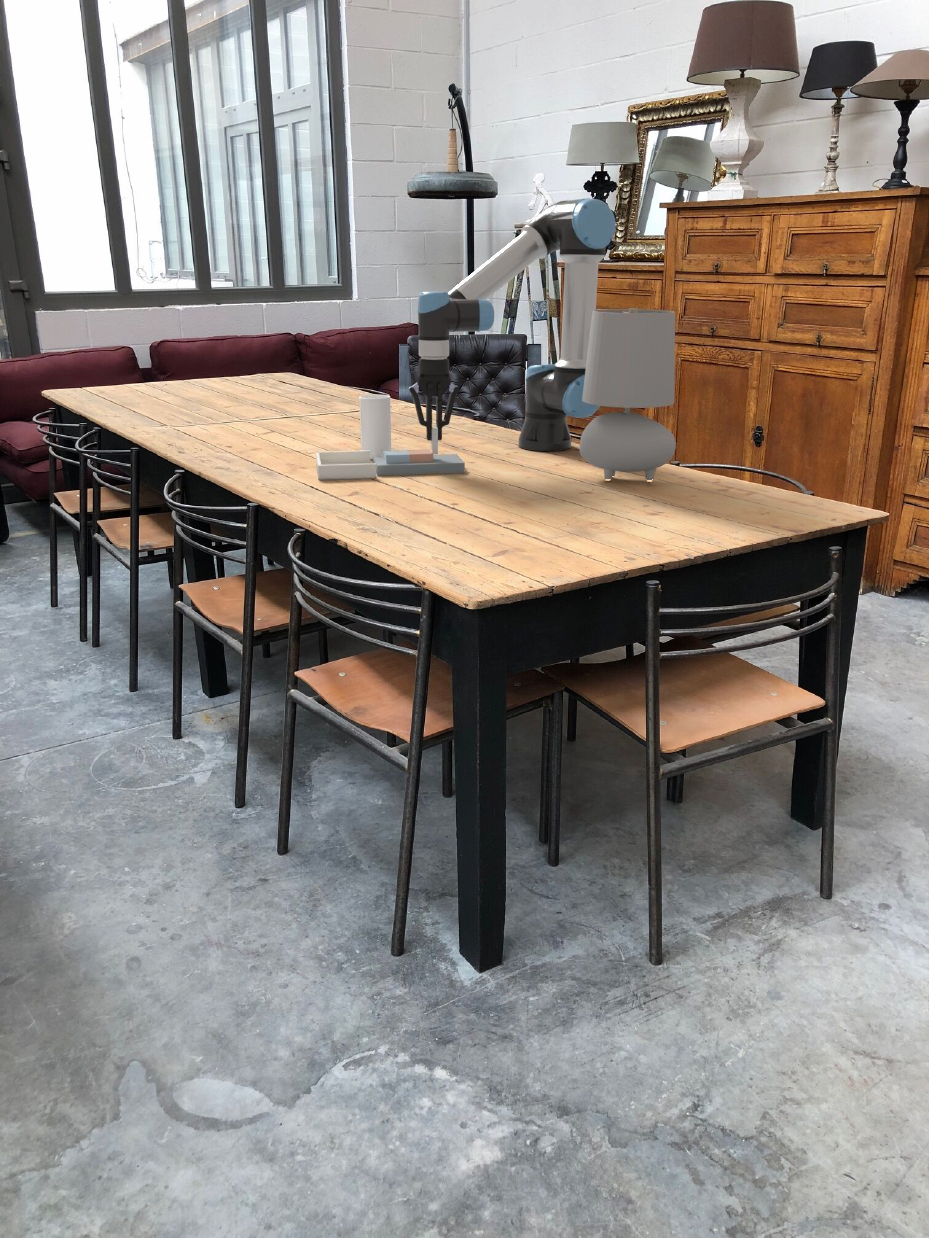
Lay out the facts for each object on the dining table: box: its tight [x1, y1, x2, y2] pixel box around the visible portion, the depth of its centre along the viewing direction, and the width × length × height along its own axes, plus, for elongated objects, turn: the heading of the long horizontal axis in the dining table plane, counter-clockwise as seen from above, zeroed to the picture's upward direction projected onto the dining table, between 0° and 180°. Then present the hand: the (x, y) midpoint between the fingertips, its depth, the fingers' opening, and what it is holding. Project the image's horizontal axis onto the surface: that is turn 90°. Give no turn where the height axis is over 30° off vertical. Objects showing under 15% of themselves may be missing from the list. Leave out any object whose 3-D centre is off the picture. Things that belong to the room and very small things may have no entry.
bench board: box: [372, 453, 466, 477], centre depth 246 cm, size 22×12×2 cm, turn 100°
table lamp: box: [579, 307, 677, 480], centre depth 228 cm, size 23×22×40 cm
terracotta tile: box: [406, 448, 434, 462], centre depth 245 cm, size 6×6×2 cm
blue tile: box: [383, 449, 410, 463], centre depth 244 cm, size 6×6×2 cm
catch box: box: [315, 450, 377, 481], centre depth 243 cm, size 14×18×4 cm
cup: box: [358, 394, 392, 460], centre depth 260 cm, size 8×8×16 cm
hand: (434, 453), depth 245 cm, fingers closed
